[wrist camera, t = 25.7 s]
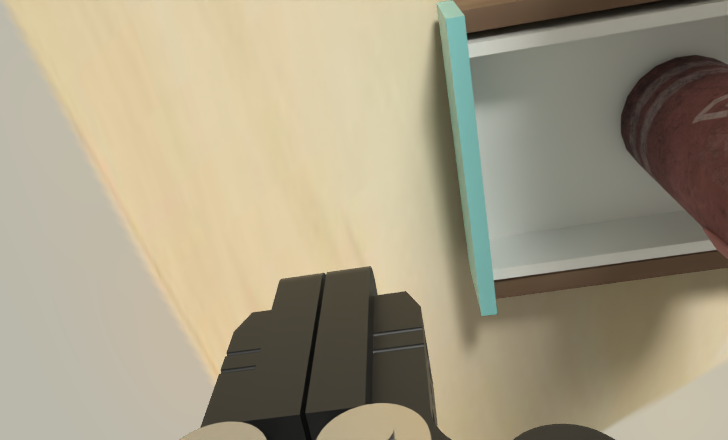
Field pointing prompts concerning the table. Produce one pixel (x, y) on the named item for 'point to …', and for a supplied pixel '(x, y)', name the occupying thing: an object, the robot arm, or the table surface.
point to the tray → (565, 137)
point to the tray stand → (536, 3)
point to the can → (684, 137)
